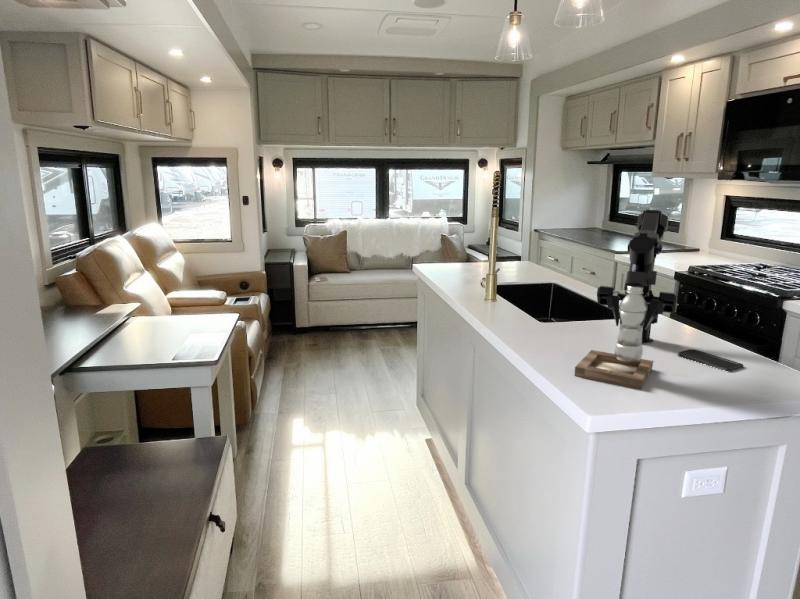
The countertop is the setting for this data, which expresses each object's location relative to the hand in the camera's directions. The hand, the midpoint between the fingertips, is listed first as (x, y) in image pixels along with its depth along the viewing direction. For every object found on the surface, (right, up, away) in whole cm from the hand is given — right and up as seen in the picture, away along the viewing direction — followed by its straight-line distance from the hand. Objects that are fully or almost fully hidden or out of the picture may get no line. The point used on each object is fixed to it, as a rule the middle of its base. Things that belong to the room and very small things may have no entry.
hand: (630, 327), depth 137 cm
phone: (+28, -11, +14) cm, 33 cm away
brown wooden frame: (-2, -12, +6) cm, 14 cm away
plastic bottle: (+1, -9, +4) cm, 10 cm away
